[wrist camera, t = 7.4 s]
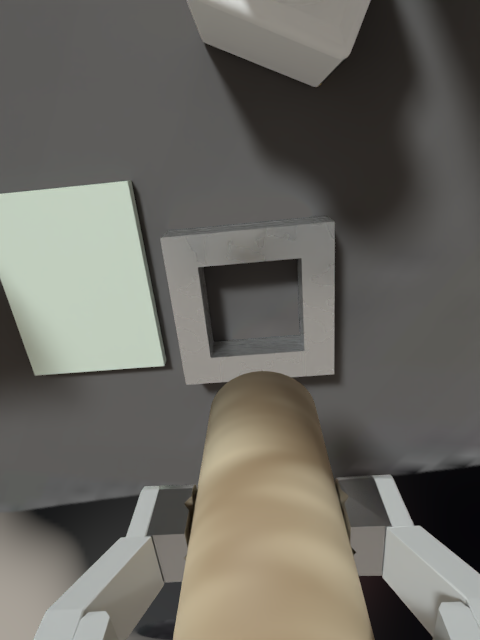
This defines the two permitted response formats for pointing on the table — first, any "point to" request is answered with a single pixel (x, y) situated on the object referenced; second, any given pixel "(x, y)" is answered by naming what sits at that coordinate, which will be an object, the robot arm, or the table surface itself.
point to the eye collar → (246, 247)
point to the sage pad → (79, 279)
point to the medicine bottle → (283, 33)
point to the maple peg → (268, 525)
